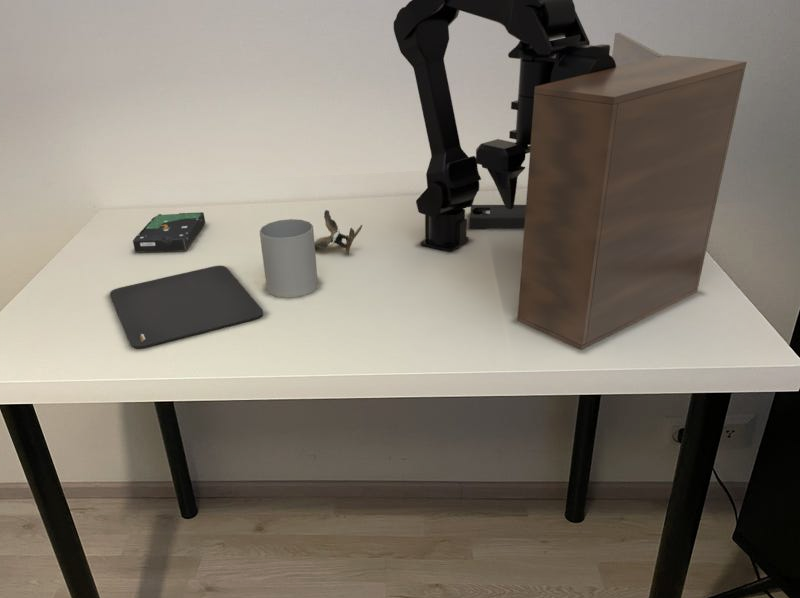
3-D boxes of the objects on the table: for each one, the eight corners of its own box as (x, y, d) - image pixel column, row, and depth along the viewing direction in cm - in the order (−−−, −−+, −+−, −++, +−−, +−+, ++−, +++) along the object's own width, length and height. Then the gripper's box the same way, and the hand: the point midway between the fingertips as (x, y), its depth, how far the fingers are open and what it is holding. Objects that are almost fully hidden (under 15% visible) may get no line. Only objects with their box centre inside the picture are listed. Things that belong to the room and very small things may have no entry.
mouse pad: (108, 291, 120) (108, 290, 120) (224, 265, 126) (223, 263, 126) (132, 350, 101) (132, 348, 101) (266, 316, 108) (266, 314, 107)
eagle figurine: (368, 238, 129) (329, 221, 133) (358, 214, 123) (318, 198, 127) (344, 270, 128) (306, 253, 132) (334, 248, 122) (294, 230, 126)
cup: (324, 278, 118) (320, 220, 113) (307, 299, 112) (302, 239, 107) (278, 274, 121) (271, 218, 116) (258, 295, 115) (251, 236, 109)
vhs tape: (546, 214, 136) (547, 204, 135) (549, 229, 130) (550, 218, 129) (470, 214, 139) (471, 204, 138) (469, 228, 133) (469, 218, 132)
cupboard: (517, 321, 101) (534, 86, 85) (631, 270, 112) (665, 55, 96) (581, 351, 92) (614, 97, 76) (697, 292, 104) (747, 61, 88)
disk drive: (187, 252, 133) (206, 224, 146) (185, 238, 132) (204, 210, 145) (134, 254, 135) (157, 225, 147) (131, 240, 133) (154, 212, 146)
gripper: (538, 113, 90) (529, 231, 98) (631, 88, 98) (616, 198, 106) (474, 102, 98) (471, 212, 106) (566, 80, 106) (556, 183, 114)
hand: (530, 201), depth 108 cm, fingers open, 9 cm apart
